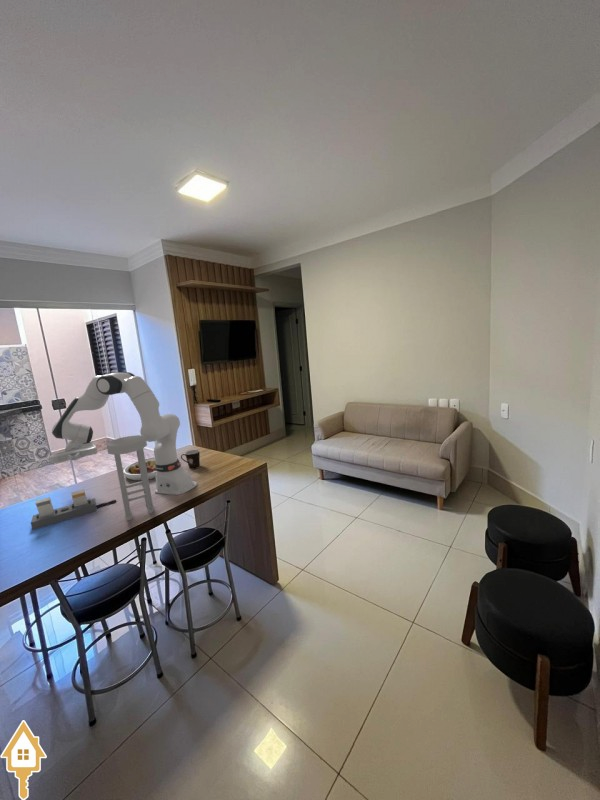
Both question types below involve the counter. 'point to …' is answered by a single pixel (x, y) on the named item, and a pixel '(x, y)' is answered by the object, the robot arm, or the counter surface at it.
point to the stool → (137, 445)
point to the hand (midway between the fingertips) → (73, 457)
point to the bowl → (134, 471)
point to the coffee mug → (192, 459)
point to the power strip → (65, 513)
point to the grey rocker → (44, 506)
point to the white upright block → (79, 497)
